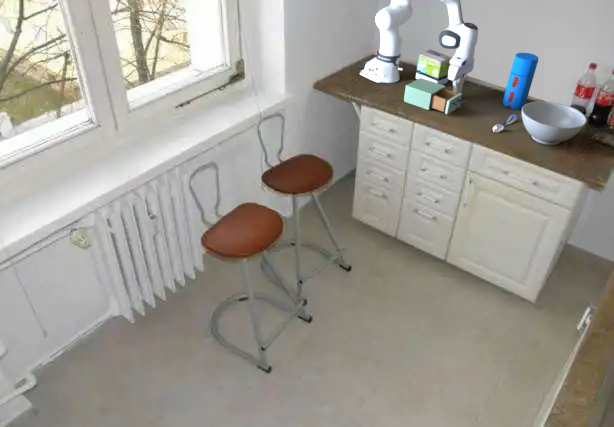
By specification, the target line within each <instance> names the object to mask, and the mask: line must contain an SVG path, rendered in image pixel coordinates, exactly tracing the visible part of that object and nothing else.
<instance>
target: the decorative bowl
mask: <svg viewBox="0 0 614 427" xmlns="http://www.w3.org/2000/svg"><path fill="white" fill-rule="evenodd" d="M521 119H522V124H523V126H524V128H525V130H526V131H527V133H528V134H529V135H530V136H531V138H532V139H533V140H534V141H535V142H537V143H540V144H543V145H547V146H555V145H559V144H561V142H566V141H568V140H570V139H572V138H573V137H575V136H576V135H578V134H579V132H581V130H583V128H584V127H585V126H586V125H587V122H588V120H587V117H586V115H585V114H584V113H583V112H582V111H580V110H578V109H576V108H574V107H572V106H569V105H567V104H563V103H561V102H553V101H548V100H547V101H545V100H541V101H538V100H537V101H531V102H526V103H525V105H524V106H523V107H522V109H521Z"/></svg>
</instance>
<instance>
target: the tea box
mask: <svg viewBox="0 0 614 427" xmlns="http://www.w3.org/2000/svg"><path fill="white" fill-rule="evenodd" d="M452 57H453V56H450V55H447V54H444V53H441V52H438V51H436V50H432V49H428V50H425V51H422V52H420V53H419V54H418V60H417V66H416V72H415V79H416V80H417V79H419V78H422V79H425V80H428V81H432V82H435V83H438V84H441V85H445V84H447V83H448V81H449V79H448V72H449V67H450V65H451V64H450V60H451V58H452Z"/></svg>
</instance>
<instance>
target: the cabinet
mask: <svg viewBox="0 0 614 427" xmlns="http://www.w3.org/2000/svg"><path fill="white" fill-rule="evenodd" d="M404 88H405V90H404V96H403V102H404V103H407V104H409V105H413V106H415V107H417V108H421V109H424V110H427V111H430V110H431V109H432V108H431V107H430V103H431V98H432V95H433V94H435V93H436V92H438V91H440V90H442V89H446V85H445V84H443V85H441V84H438V83H435V82H432V81H428V80H425V79H422V78H419V79H416V80H413V81H411V82H410V83H408V84H405V87H404Z"/></svg>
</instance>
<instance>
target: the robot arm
mask: <svg viewBox="0 0 614 427" xmlns="http://www.w3.org/2000/svg"><path fill="white" fill-rule="evenodd" d="M411 1H412V0H390V4H389V5H387V6H385V7H383V8H381V9H380V10H379V11H378V12H377V13H376V15H375V17H374V18H375V20H374V21H375V24H376V26H377V28H378V29H379V34H380V35H379V36H380V43H379V50H377V51H376V52H375V53H374V56H375V57H374V58H369V59H366V60H365V61H364V62H363V64H362V65H360V64H359V63H356V66H357V67H358V68H360V69H362V70H360V72H359V75H360V76H362V77H364V78H366V79H368V80H370V81H372V82H375V83H377V84H381V83H386V84H390V83H391V84H393V83H397V82H399V81H400V71H403V68H401V67H400V62H401V55H402V54H401V48H402V41H403V39H402V37H401V36H400V31H399V30H400V26H401V25H404V24H406V23H407V22H408V21H409V20H410V19H411V18H412V16H413V8H412V4H411V3H412V2H411ZM439 1H440V2H442V3H444V4H445V5H446V8H447V14H448V20H449V21H448V22H449V23H448V27H445V28H444V29H443V30H442V31H441V32H440V33H439V35H438V43H439V45H440V46H441V47H442V48H444V49H447V50H455V53H454V54H453V56H451V57H452V58H451V60H450V64H451V65H450V67H449V72H448V81H451V82H452V87H453V86H454V87H456V86H457V84H458V83H457V80H458V79H459V78H461V77H462V76H463V74H464V73H465V79H464V82H466V78H467V76H468V74H469V73H471V72H473V69H474V67H475V49H476V46H477V43H478V39H479V38H478V37H479V28H478V26H477V25H476V24H475V23H473V22H464V18H463V12H462V5H461V0H439Z"/></svg>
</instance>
